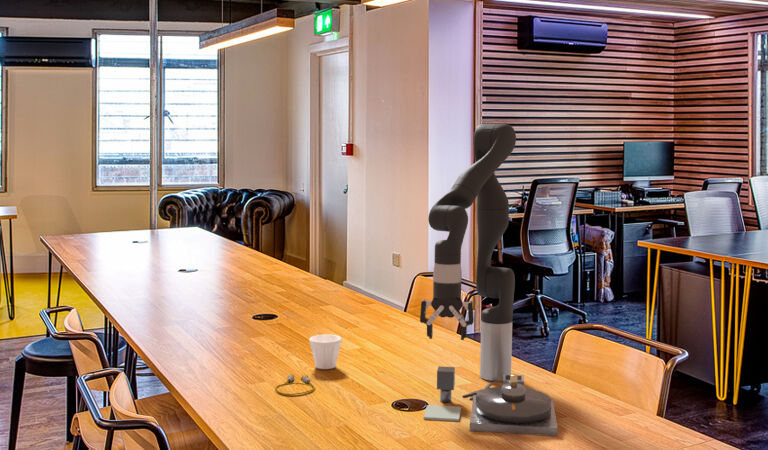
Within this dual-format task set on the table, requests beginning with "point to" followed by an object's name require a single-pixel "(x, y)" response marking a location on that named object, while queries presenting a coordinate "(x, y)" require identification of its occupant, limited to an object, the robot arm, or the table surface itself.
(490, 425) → the drill stand
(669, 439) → the table surface
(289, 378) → the olive earphones
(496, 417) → the chuck collar
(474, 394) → the pliers
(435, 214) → the robot arm
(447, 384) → the block
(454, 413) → the mat
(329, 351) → the cup
